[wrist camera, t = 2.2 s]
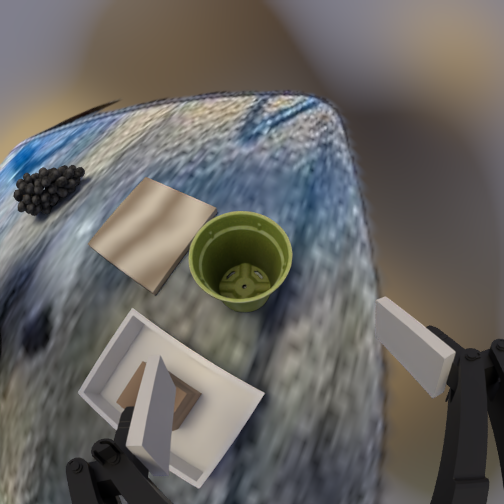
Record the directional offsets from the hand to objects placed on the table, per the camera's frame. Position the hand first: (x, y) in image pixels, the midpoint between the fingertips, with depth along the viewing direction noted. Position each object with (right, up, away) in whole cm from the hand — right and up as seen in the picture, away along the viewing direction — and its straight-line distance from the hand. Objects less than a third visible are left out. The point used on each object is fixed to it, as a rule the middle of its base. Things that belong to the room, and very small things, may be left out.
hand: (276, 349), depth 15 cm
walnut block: (-10, -10, +11) cm, 18 cm away
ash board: (-16, +9, +22) cm, 28 cm away
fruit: (-37, +15, +27) cm, 49 cm away
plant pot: (-2, +1, +18) cm, 18 cm away
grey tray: (-10, -10, +11) cm, 18 cm away
